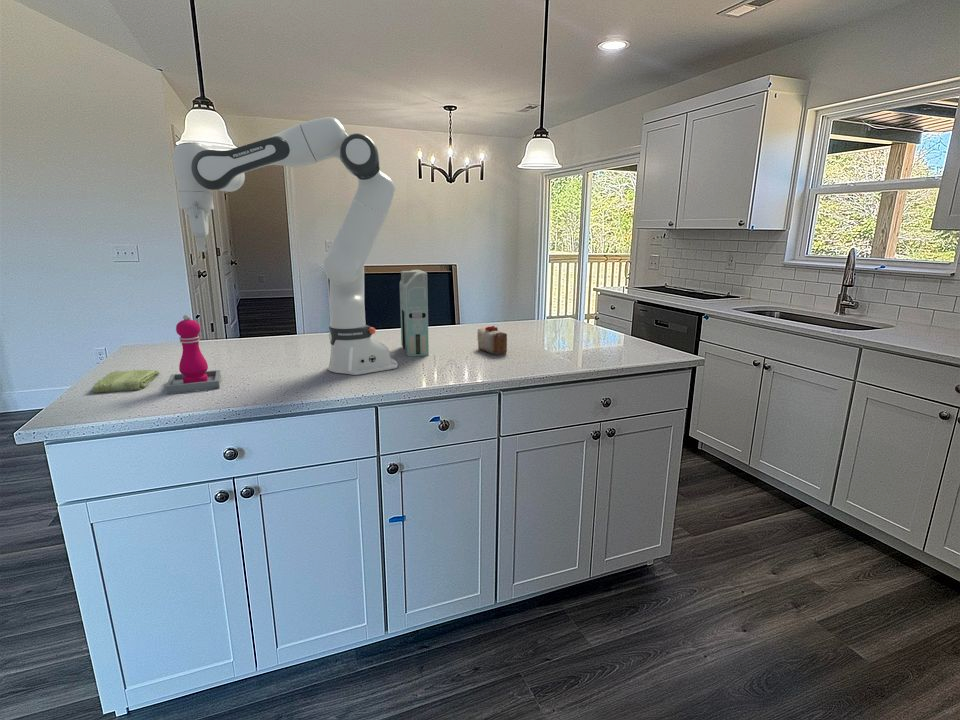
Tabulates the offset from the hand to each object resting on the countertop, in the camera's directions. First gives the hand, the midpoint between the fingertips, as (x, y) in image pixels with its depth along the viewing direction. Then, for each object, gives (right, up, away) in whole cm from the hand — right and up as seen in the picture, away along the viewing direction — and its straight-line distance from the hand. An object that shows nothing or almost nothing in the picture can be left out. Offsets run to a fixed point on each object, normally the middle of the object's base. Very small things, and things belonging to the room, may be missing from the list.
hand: (202, 251), depth 148 cm
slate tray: (0, -40, -3) cm, 40 cm away
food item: (+88, -29, +42) cm, 101 cm away
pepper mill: (0, -39, -3) cm, 39 cm away
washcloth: (-21, -40, -2) cm, 45 cm away
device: (+58, -29, +40) cm, 77 cm away
